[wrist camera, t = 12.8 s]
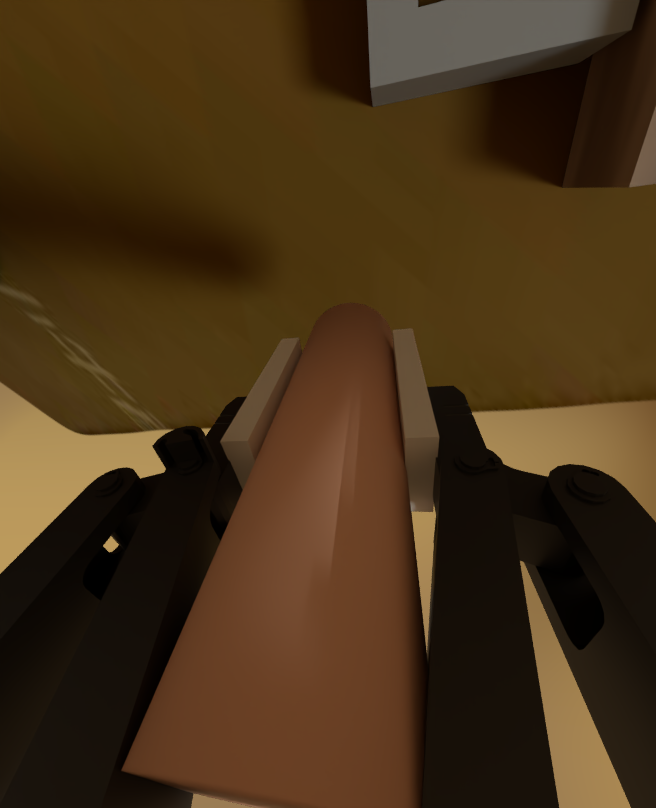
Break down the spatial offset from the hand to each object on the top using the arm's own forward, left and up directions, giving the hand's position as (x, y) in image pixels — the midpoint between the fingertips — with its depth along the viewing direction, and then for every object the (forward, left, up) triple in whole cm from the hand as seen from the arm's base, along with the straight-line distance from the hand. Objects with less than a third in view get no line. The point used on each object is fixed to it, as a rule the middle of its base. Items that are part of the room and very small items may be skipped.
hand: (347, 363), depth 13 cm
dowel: (0, 0, -2) cm, 2 cm away
